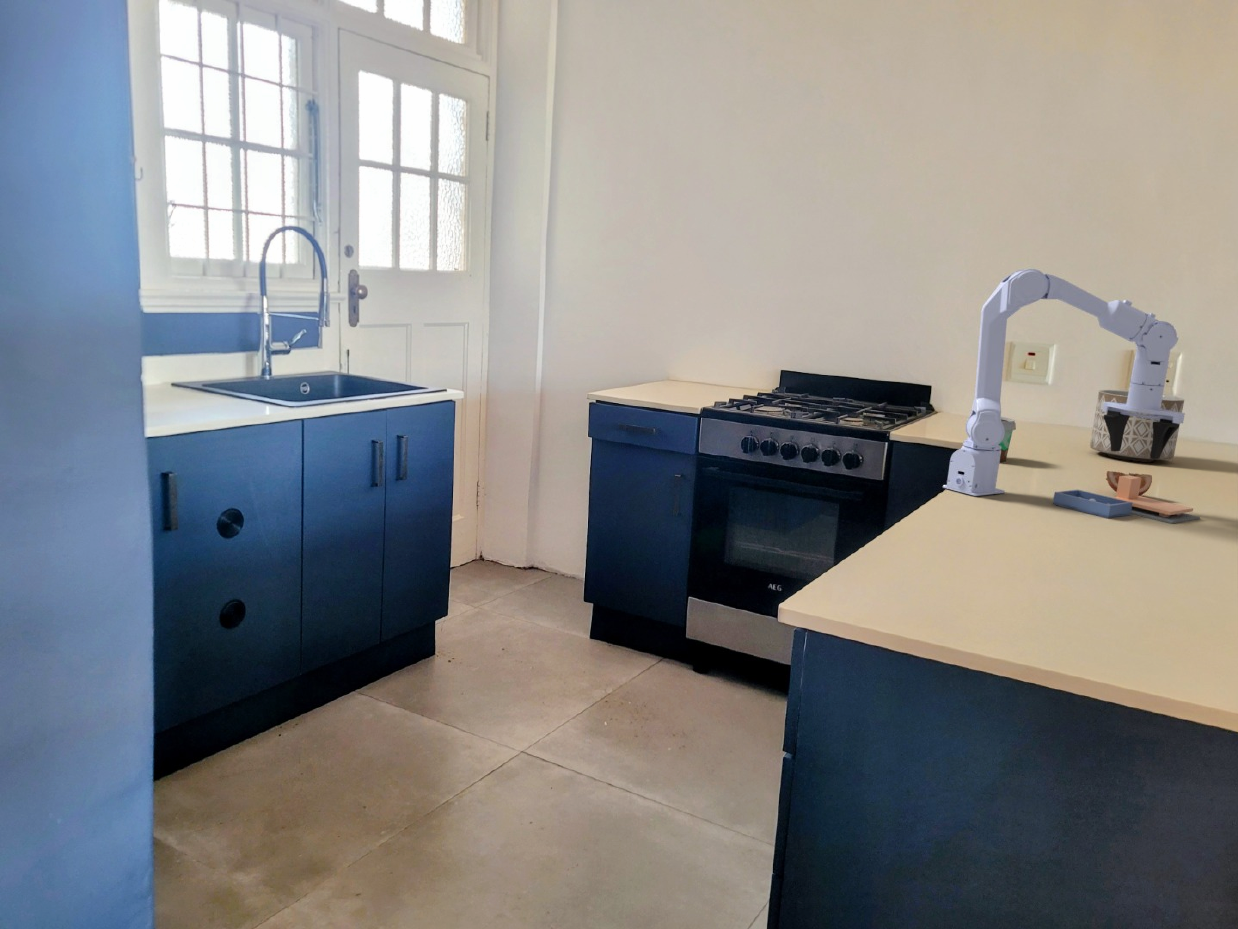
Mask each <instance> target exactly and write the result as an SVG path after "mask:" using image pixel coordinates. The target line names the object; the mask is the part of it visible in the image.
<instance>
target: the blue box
mask: <svg viewBox="0 0 1238 929" xmlns="http://www.w3.org/2000/svg"><path fill="white" fill-rule="evenodd" d="M1111 497H1112V496H1107V495H1102V494H1099V493H1093V492H1090V491H1085V490H1081V489H1070V490H1063V491H1062V490H1061V491H1055V492H1054V494H1053V500H1052V505H1053V504H1055V505H1054V506H1057V505H1058V506H1059V507H1061V506H1062V507H1061V508H1064V509H1065V508H1066V509H1070V510H1073V509H1074V511H1078V512H1081V513H1085V514H1088V515H1094V516H1096V517H1101V518H1105V519H1111V518H1119V517H1126V516H1130V515H1132V514H1131V509H1132V504H1133V502H1129V501H1124V500H1120V499H1116V498H1111ZM1058 506H1057V507H1058Z"/></svg>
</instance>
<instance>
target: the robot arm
mask: <svg viewBox="0 0 1238 929" xmlns="http://www.w3.org/2000/svg"><path fill="white" fill-rule="evenodd" d="M1040 300H1059V301H1061V302H1063V303H1065V304H1067V305H1070V306H1072V307H1075V308H1077V309H1078V310H1081V311H1083V312H1085V313H1087V314H1089V315H1092V316H1094V317H1096V318H1097V320H1098V324H1099V326H1100V328H1101V329H1104V330H1106V331H1108V332H1110V333H1113V334H1114V335H1116V336H1118V337H1120V338H1123V339H1124V340H1126V341H1128V342H1130V343H1131V342H1132V343H1133V342H1134V344H1135V346H1136V350H1135V358H1134V359H1133V365H1132V372H1131V378H1130V382H1129V388H1128V391H1129V393H1128V399H1127V404H1122V403H1114V402H1104V403H1103V409H1102V412H1108V413H1107V415H1104V420H1105V423H1106V425H1107V428H1108V431H1109V436H1110V443H1111V451H1120V449H1121V445H1122V440H1123V434H1124V430H1125V427H1126V424H1127V422H1128V419H1129V417H1130V416H1136V417H1143V418H1149V419H1155V420H1160V422H1159V421H1157V422H1153V442H1152V448H1151V453H1150V458H1151V459H1154V460H1158V459H1159V458H1160V455H1161V453H1162V451H1163V449H1164V447H1165V445H1166V443H1167V442H1168V440H1169V439H1170V437H1171V436H1172V435H1173V433H1174V432H1175V431H1176V430H1177V429H1178V428H1179V429H1180V426H1179V423H1180V424H1184V421H1185V415H1186V413H1185V412H1182V413H1181V412H1175V411H1170V410H1165V409H1160V407H1161V402H1162V396H1163V395H1164V392H1165V391H1164V389H1165V384H1166V379H1167V374H1168V373H1167V372H1168V368H1169V363H1170V362H1169V360H1170V354H1171V350H1172V349H1174V347H1175V346H1176V345H1177V343H1178V340H1179V337H1178V334H1177V331H1176V329H1175V327H1174V326H1173V325H1172V324H1171V323H1169V322H1167V321H1163V320H1159V319H1155V318H1156V316H1157V315H1156V314H1155V313H1153V312H1148V313H1147V312H1144V311H1142V310H1140V309H1138V308H1137V307H1135V306H1133V305H1132V304H1133V302H1132V301H1130V300H1128V299H1124V300H1123V301H1122V300H1119V299H1115V300H1112V301H1109V302H1107V301H1106V300H1103V299H1102V298H1099V297H1097V296H1096V295H1093V294H1092V293H1090V292H1088V291H1087V290H1085V289H1082V288H1080V287H1079V286H1078V285H1075V284H1073V283H1071V282H1069V281H1067V280H1065V279H1064V278H1060V277H1058V276H1056V275H1052V274H1049V273H1044V272H1042V271H1041V270H1038V269H1036V268H1026V269H1019V270H1016V271H1014V272H1012V273H1011V274H1009V275H1008V276H1006V277H1005V278H1003V279H1002V280H1001V281H1000V283H999V284H998V286H997V287H996V288H995V290H993V292H992V294H991V295H990V296H989V297H988V299H987V300H986V301H985V302H984V304H983V305H982V307H981V312H980V321H979V325H980V326H979V336H978V350H977V361H976V362H977V363H976V375H975V386H974V387H975V388H974V389H975V390H974V398H973V401H972V405H971V413H970V414H969V417H968V418H967V420H966V422H965V432H966V434H967V436H968V437H967V438H966V439H965V440H963V442H962V446H961V448H959V449H957V450H956V451H954V452H953V453H952V454H951V456H950V460H949V466H948V472H947V480H946V484H943V485H942V488H943V489H947V490H952V491H955V492H958V493H963V494H967V495H970V496H975V497H979V496H980V497H981V496H988V495H996V494H1004V493H1005V492H1006V491H1005V490H1003V489H1001V488H997V482H998V474H999V468H1000V467H999V466H1000V463H1001V462H1000V455H1001V448H1002V447H1001V446H999V445H998V444H1000V443H1001V441H1002V440H1003V438H1004V435H1005V429H1004V426H1003V424H1002V421H1001V417H1002V408H1001V407H1002V406H1001V405H1002V404H1001V396H1002V395H1001V394H1002V381H1003V371H1004V361H1005V360H1004V358H1005V348H1006V347H1005V346H1006V334H1007V324H1008V319H1009V318H1010V317H1012V316H1013V315H1015V313H1017V312H1018V311H1019V310H1021V309H1022V308H1024V307H1025V306H1028V305H1031V304H1033V303H1036V302H1039V301H1040ZM1130 412H1139V413H1147V414H1150V415H1151V416H1149V415H1142V414H1136V413H1130ZM1155 416H1157V417H1155Z"/></svg>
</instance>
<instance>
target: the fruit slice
mask: <svg viewBox="0 0 1238 929" xmlns="http://www.w3.org/2000/svg"><path fill="white" fill-rule="evenodd" d="M1128 475H1130V476H1135V477H1139V478H1141V483H1140V489H1139V495H1138V496H1142V495H1145V493H1147V492H1148V491H1149V489H1150V488H1151V486H1152V483H1153V477H1152V475H1151V474H1143V473H1141V474H1140V473H1130V472H1129V473H1128V474H1126V473H1123V472H1121V471H1111V470H1108V471H1106V478H1105V480H1106V481H1107V484H1108V486H1109V487H1110V488H1111V489H1112V490H1113V491H1114V492H1115V493H1117V488H1118V482H1119V476H1128Z"/></svg>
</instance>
